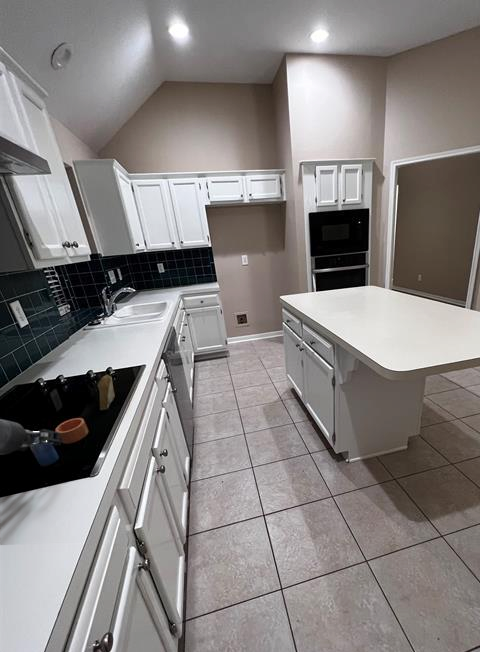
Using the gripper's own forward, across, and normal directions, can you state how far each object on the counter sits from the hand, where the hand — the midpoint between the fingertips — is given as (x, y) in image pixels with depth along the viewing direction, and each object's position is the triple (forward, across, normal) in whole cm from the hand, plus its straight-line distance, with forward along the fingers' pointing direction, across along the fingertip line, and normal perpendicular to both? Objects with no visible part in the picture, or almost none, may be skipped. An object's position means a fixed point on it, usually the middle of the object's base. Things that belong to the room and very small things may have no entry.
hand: (42, 444), depth 85 cm
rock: (+24, -5, -16) cm, 29 cm away
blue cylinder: (+3, 0, +4) cm, 5 cm away
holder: (+11, -2, -3) cm, 11 cm away
